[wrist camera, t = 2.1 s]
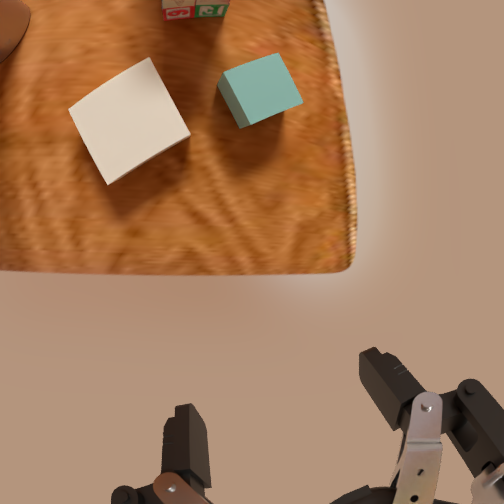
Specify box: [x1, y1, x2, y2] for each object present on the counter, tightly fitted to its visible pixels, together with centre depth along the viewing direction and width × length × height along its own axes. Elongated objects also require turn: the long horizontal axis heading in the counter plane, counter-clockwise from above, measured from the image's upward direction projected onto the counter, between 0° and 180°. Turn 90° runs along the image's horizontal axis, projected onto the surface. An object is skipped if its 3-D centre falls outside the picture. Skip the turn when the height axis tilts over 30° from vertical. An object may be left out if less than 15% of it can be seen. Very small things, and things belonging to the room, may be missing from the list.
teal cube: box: [217, 53, 303, 129], centre depth 21 cm, size 5×5×5 cm
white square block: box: [68, 57, 191, 185], centre depth 20 cm, size 8×8×4 cm
